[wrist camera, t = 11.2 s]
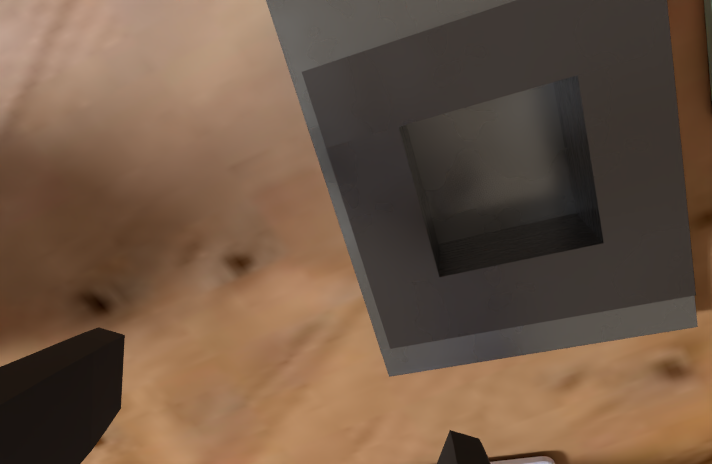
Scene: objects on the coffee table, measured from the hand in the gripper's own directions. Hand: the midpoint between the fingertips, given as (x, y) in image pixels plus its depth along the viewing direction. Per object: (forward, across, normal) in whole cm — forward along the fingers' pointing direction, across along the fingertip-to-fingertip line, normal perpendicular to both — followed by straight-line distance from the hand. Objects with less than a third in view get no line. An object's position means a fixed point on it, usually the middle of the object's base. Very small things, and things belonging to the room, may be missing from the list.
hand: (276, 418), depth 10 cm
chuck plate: (+10, -4, -5) cm, 12 cm away
